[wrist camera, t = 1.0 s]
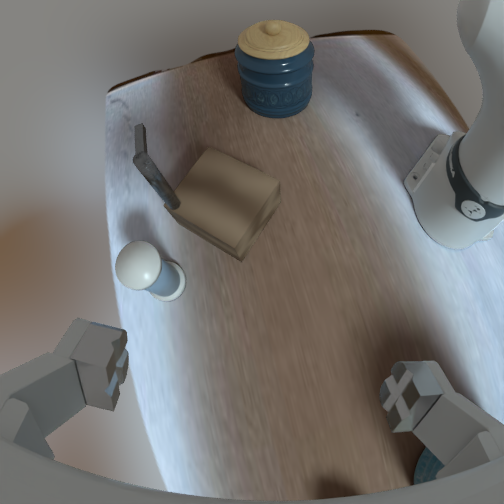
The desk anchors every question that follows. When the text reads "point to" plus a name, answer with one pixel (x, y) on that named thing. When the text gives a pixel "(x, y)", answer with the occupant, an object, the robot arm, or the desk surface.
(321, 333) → the desk surface
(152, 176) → the hook post
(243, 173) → the walnut shelf block
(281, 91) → the canister
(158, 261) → the cord spool
